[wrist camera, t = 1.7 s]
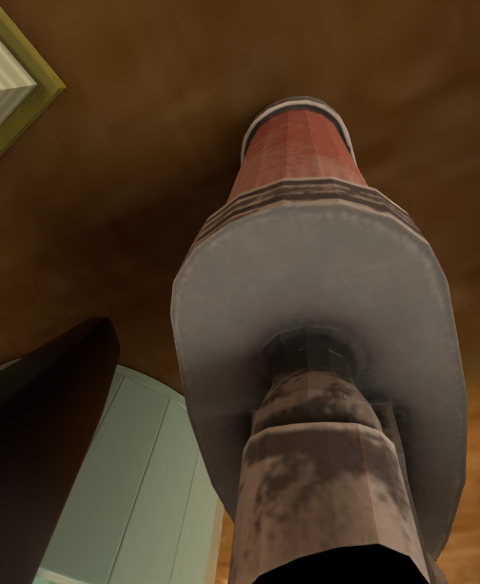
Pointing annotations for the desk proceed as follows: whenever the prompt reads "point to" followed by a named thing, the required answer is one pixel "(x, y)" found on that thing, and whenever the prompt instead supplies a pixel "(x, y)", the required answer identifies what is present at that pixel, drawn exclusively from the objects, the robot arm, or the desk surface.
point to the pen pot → (138, 497)
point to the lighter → (321, 365)
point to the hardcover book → (22, 83)
